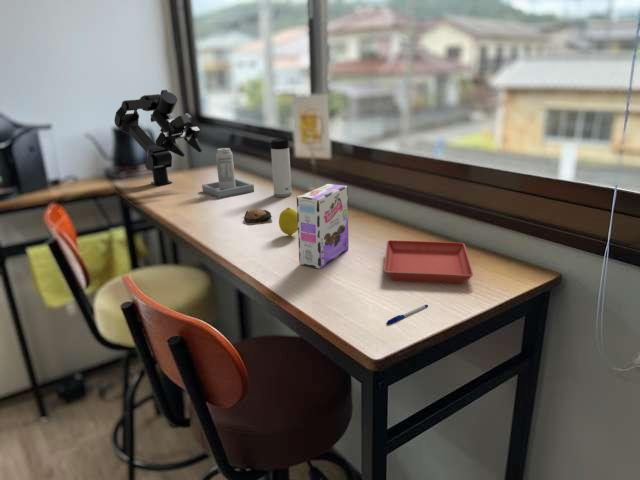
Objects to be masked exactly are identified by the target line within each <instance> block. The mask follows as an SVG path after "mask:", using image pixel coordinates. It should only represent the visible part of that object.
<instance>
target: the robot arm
mask: <svg viewBox="0 0 640 480" xmlns="http://www.w3.org/2000/svg"><path fill="white" fill-rule="evenodd" d="M177 103H178V97H177V96H176V95H175V94H174V93H172V92H170V91H169V90H167V89H161V92H160V94H147V95H146V94H144V95H143V96H142V95H141V96H140V98H139V99H138V98H137V99H129V100H128V99H126V100H124V101H123V100H122V102H121V106H119V108H118V109H117V111H116V112H115V115H114V119H113V120H114V125H115V127H117V129H119V130H120V131H121V132H123V133H126V134H129V135H130V136H131V137H132V138H133V139H134V141H135V142H136V143H137V144H139V146H140V147H141V148H142V149H143V150H144V151H145V153H146V156H147V158H146V161H145V164H144V166H145V168H146V170H148V171H151V172H152V179H153V181H151V182H150V184H152V185H154V186H155V187H157V186H158V187H159V186H162V185H169V184H173V182H172V181H171V180H169V175H168V168H171V167H172V165H173V163H172V162H173V155H172V153H174V154H176V155H178V156H180V157H183V158H184V157H185V153H184V152H183V150H182V149H181V148H180V146H179V145H178V144H177V142H176V141H177V140H181V139H183V140H185V142H187V143H186V144H188V145H189V146H190V147H192V148H193V149H195V151H197V152H198V153H202V151H203V150H202V146H201V144H200V142H199V135H200V132H201V129H200V128H199V127H198V126H197V125H196V126H189V127H188V128H187V129H186V126H187V125H191V123H192V122H193V117H192V115H190V114H189V113H184V114H183V115H179V116H177V117H175V118H173V116H171V114H172V113H173V111H174V109H175V107H176V105H177ZM138 110H142V111H145V112H152V114H150V122H151V123H155V122H156V124H157V125H158V126H159V128H160V130H159V131H160V133H159V134H158V136H157V138H156V139H155V141H154V140H153V139H152V138H151V137H150V136H149V135H148V134H147V133H146V131H144V129H142V128H141V126H140V125H139V119H140V114H139V113H138ZM129 111H130V112H131V111H133V112H131V113H127V112H129ZM185 130H186V131H185Z"/></svg>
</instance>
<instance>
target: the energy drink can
mask: <svg viewBox="0 0 640 480" xmlns="http://www.w3.org/2000/svg"><path fill="white" fill-rule="evenodd" d="M233 155H234V154H233V152H232V150H231V148H230V147H220V148H216V153H215V160H216V170H217V177H218V178H217V180H218V182H219V188H220V189H221V190H226V189H231V188H235V187H236V184H235V179H236V177H235V176H236V175H235V173H236V172H235V167H234V163H235V162H234V156H233Z"/></svg>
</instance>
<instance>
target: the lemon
mask: <svg viewBox="0 0 640 480" xmlns="http://www.w3.org/2000/svg"><path fill="white" fill-rule="evenodd" d="M278 217H279V218H278V226H279V228H280V231H281V232H282V233H284V234H285V235H288V236H289V237H291V236H293V235H294V234H295V233H296V232H298V218H297V210H295V209H294V208H291V207H289V206H288V207H286V208H285V209H283V210H282V211H281V212H280V214H279V216H278Z"/></svg>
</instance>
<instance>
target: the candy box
mask: <svg viewBox="0 0 640 480" xmlns="http://www.w3.org/2000/svg"><path fill="white" fill-rule="evenodd" d="M348 193H349V191H348V185H344V184H343V185H342V184H336V183H335V184H334V183H326V184H324V185H323V186H320V187H318V188H315V189H313V190H311V191H308V192H305V193H303V194H301V195H298V196H296V212H297V218H298V230H297V234H298V235H297V236H298V237H297V238H298V261H299V265H303V266H308V267H310V268H315V269H321V268H324V267H325V266H326V265H327V264H329V263H331V262H332V261H334V260H335V259H337V258H338V257H339V256H341V255H342V254H344V253H345V252H347V251H348V250H349V246H350V245H349V209H348V208H349V203H348V202H349V200H348V199H349V198H348Z"/></svg>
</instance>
